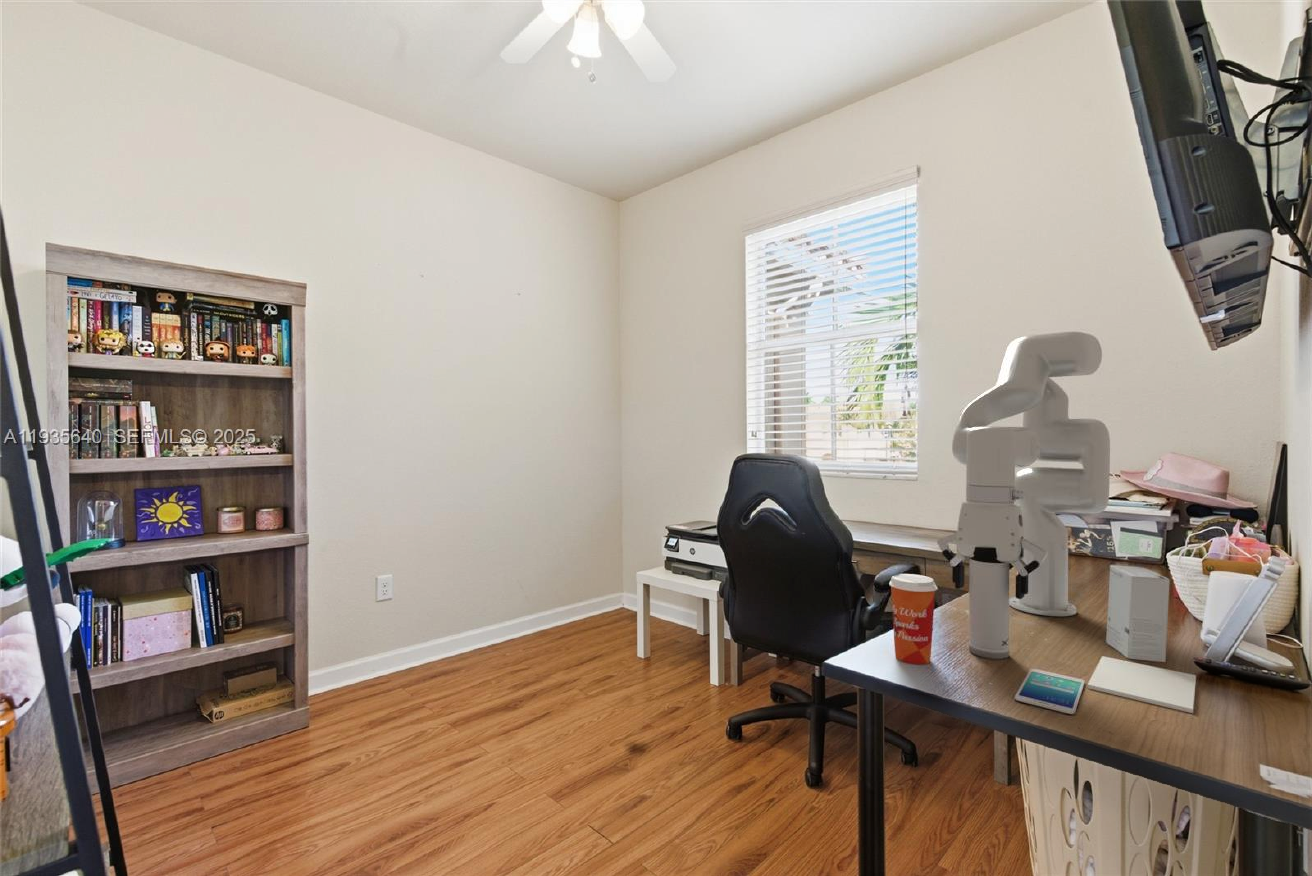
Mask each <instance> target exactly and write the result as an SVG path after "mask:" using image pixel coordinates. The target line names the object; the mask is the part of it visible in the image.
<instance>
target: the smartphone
mask: <svg viewBox="0 0 1312 876" xmlns="http://www.w3.org/2000/svg"><path fill="white" fill-rule="evenodd" d="M1085 684H1086V683H1085V680H1084V679H1082V678H1078V677H1072V676H1068V675H1064V674H1059V673H1055V672H1050V671H1047V670H1041V669H1036V668H1030V669H1029V671H1028V673H1027V675H1026V677H1025V678H1024V680H1023V681H1022V682H1021V685H1020V687H1019V688H1018V690H1017V691H1016V693H1015V695H1014V702H1016V703H1018V704H1023V705H1026V706H1030V707H1031V706H1032V707H1034V708H1038V709H1042V710H1046V711H1051V712H1054V713H1058V714H1061V715H1067V716H1070V717H1072V716H1075V715H1076V712H1077V710H1078V709H1079V706H1080V699H1081V697H1082V694H1083V690H1084V687H1085Z"/></svg>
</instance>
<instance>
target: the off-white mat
mask: <svg viewBox="0 0 1312 876" xmlns="http://www.w3.org/2000/svg"><path fill="white" fill-rule="evenodd" d="M1196 681H1197V675H1195V674H1191V673H1186V672H1181V671H1178V670H1177V671H1176V670H1171V669H1168V668H1162V667H1156V666H1151V665H1148V664H1147V665H1146V664H1142V663H1137V662H1133V661H1128V660H1124V659H1123V660H1122V659H1119V658H1113V657H1109V656H1103V655H1102V656H1101V658H1100V660H1099V662H1098V663H1097V665H1096V667H1095V669H1094V671H1093V673H1092V675H1091V676H1090V679H1089V681H1088V683H1087V689H1090V690H1094V691H1097V692H1102V693H1106V694H1111V695H1115V696H1119V697H1122V698H1127V699H1131V700H1135V701H1140V702H1144V703H1148V704H1152V705H1156V706H1161V707H1164V708H1167V709H1168V708H1170V709H1173V710H1176V711H1181V712H1186V713H1188V714H1194V707H1195V706H1194V704H1195V695H1196V694H1195V693H1196Z"/></svg>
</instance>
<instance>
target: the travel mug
mask: <svg viewBox="0 0 1312 876" xmlns="http://www.w3.org/2000/svg"><path fill="white" fill-rule="evenodd" d="M973 555H974V556H973V557H972V558H968V560H969V563H968V564H969V565H968V649H969V652H970V653H972V654H973V655H975V656H977V655H978V657H980V656H982V657H981V658H984V657H986V658H985V659H989V658H993V659H992V660H1004V659H1003V658H1005V659H1007V658H1008V657H1009V656H1010V604H1009V599H1010V563H1004V562H1000V561H999V560H997V552H996V548H980V547H975V550H974V552H973Z"/></svg>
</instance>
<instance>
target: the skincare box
mask: <svg viewBox="0 0 1312 876" xmlns="http://www.w3.org/2000/svg"><path fill="white" fill-rule="evenodd" d="M1108 582H1109V585H1108V601H1107V619H1106V620H1107V621H1106V637H1105V638H1106V640H1105V642H1106V644H1107V645H1109V646H1110V647H1111V648H1113V649H1115V650H1116V651H1118V652H1119V653H1120V654H1122V655H1123V656H1124V658H1126V659H1130V660H1137V661H1139V660H1140V661H1146V662H1147V661H1150V662H1159V663H1166V661H1167V659H1166V657H1167V639H1168V638H1167V636H1168V633H1167V632H1168V617H1169V601H1170V579H1169V578H1167V577H1166V576H1163V575H1162V574H1160V573H1158V572H1156V571H1154V570H1150V569H1149V568H1145V567H1142V566H1141V567H1140V566H1129V565H1127V566H1126V565H1115V564H1111V565H1109V581H1108Z"/></svg>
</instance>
